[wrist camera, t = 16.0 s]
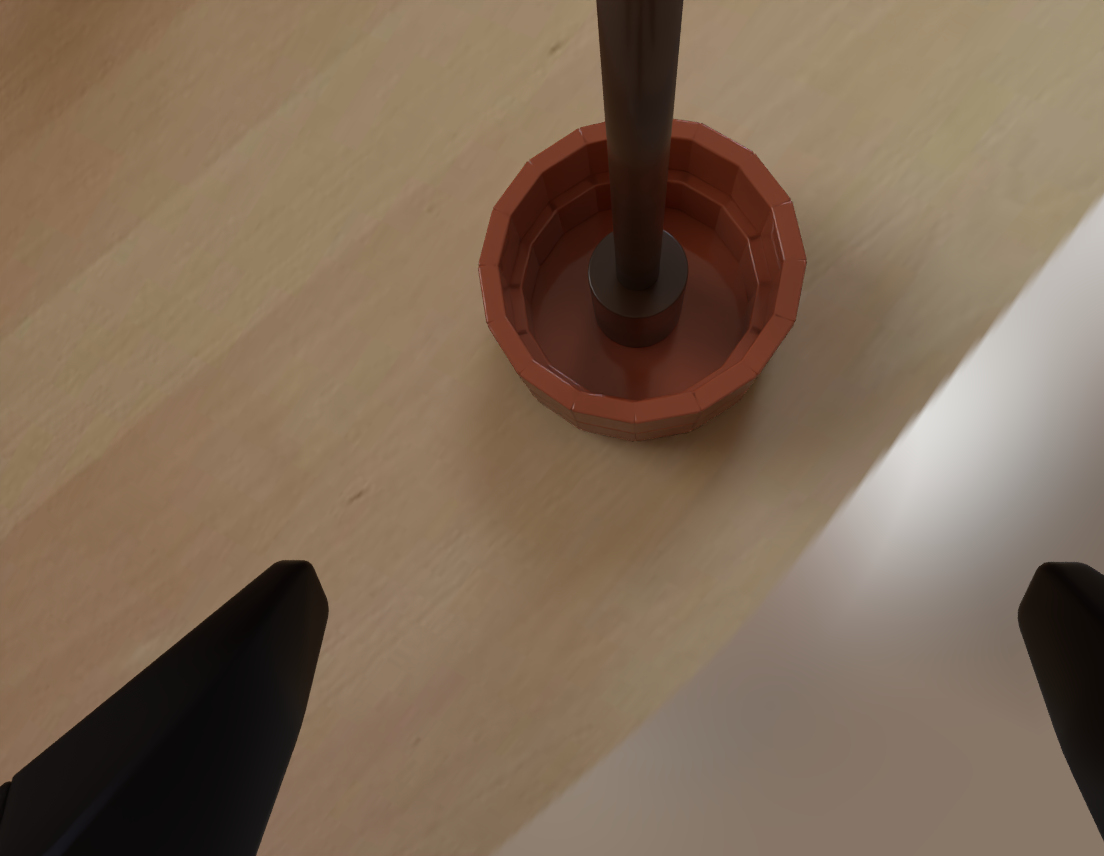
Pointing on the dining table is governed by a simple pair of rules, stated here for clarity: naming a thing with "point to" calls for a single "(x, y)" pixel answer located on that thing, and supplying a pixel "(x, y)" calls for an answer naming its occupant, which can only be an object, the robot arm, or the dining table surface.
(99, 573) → the dining table surface
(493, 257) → the bowl
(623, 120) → the brown pestle
